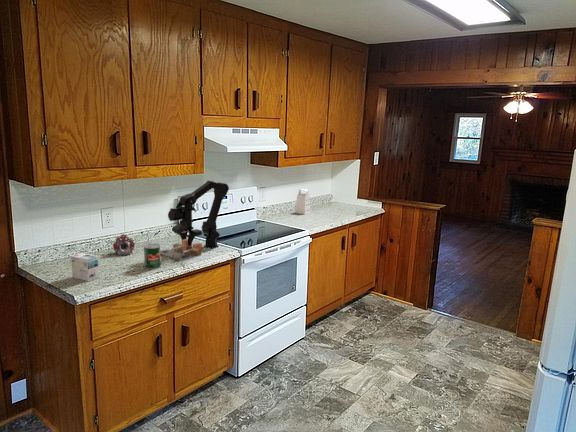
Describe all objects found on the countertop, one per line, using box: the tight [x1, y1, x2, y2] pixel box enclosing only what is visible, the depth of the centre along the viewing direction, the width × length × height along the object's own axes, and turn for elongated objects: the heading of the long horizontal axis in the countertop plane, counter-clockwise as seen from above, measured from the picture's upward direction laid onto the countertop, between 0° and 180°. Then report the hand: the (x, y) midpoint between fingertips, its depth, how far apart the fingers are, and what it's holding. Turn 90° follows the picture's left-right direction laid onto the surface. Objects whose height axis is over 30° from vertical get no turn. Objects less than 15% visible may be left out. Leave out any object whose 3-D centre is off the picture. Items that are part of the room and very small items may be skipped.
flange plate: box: [160, 248, 192, 262], centre depth 242 cm, size 8×20×1 cm, turn 55°
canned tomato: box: [143, 243, 162, 270], centre depth 223 cm, size 8×8×11 cm
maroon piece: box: [112, 233, 135, 257], centre depth 244 cm, size 11×11×12 cm
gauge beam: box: [172, 242, 203, 257], centre depth 247 cm, size 13×20×6 cm, turn 55°
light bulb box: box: [70, 252, 101, 282], centre depth 204 cm, size 11×7×11 cm, turn 67°
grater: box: [294, 188, 312, 215], centre depth 373 cm, size 10×10×20 cm
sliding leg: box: [171, 238, 193, 254], centre depth 247 cm, size 13×3×7 cm, turn 145°
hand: (187, 245), depth 250 cm, fingers open, 4 cm apart
